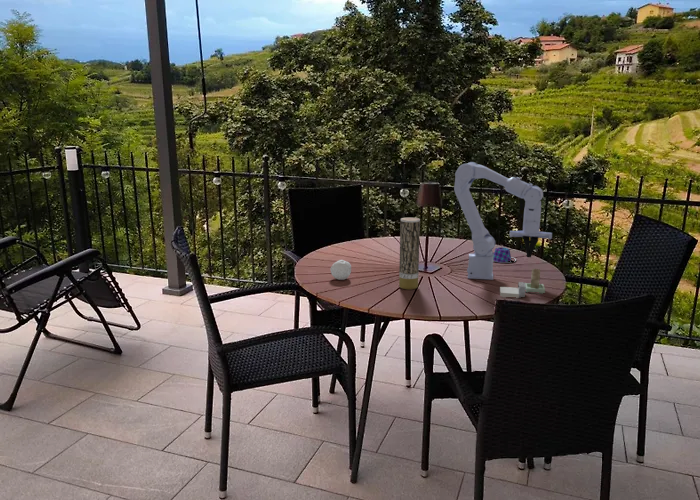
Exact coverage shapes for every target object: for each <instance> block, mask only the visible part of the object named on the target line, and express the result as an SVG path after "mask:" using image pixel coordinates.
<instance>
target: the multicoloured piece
mask: <svg viewBox="0 0 700 500" xmlns="http://www.w3.org/2000/svg"><path fill="white" fill-rule="evenodd" d="M493 253H494V256H493V263H494V262H495V263H499V264H500V263H503V264H509V263H511V261H510V260H511V258H514V259H515V261H514V262H516V261H517V259H516V257H513V256H511V255H512V254H511V251H510V248H507V247H496V248H495V249H494V251H493ZM508 261H510V262H508Z"/></svg>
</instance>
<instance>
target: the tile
mask: <svg viewBox="0 0 700 500" xmlns="http://www.w3.org/2000/svg"><path fill="white" fill-rule="evenodd" d="M499 296H502V297H501V298H506V297H516V298H515V299H519V298H520V297H519V292H518V287H509V286H499Z"/></svg>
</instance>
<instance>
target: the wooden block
mask: <svg viewBox="0 0 700 500" xmlns="http://www.w3.org/2000/svg"><path fill="white" fill-rule="evenodd" d="M525 283H526V282H525V281H524V282H523V281H518V284H517V285H518V286H517V288H518V292H519V298H521V297H526V291H525V287H526V286H525Z"/></svg>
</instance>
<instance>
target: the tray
mask: <svg viewBox="0 0 700 500" xmlns="http://www.w3.org/2000/svg"><path fill="white" fill-rule="evenodd" d="M525 286H526V287H525V290H526V291H525V293H528V292H539V293H538V294H543V293H545V294H546V288H545V285H544V283H539V289H537V288H531V282H529V283H528V282H525Z"/></svg>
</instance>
